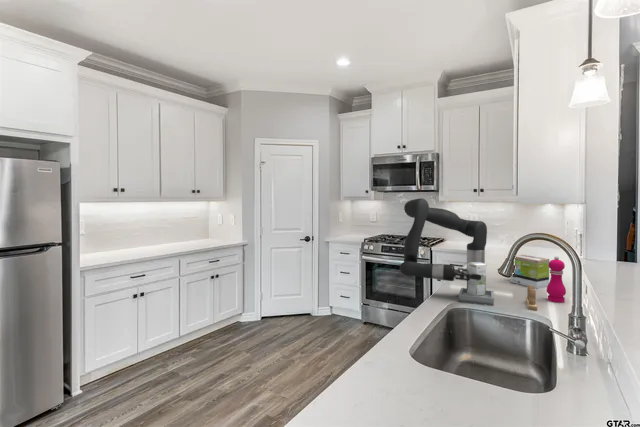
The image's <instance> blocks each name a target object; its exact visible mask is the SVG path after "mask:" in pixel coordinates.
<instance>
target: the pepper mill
mask: <svg viewBox="0 0 640 427" xmlns="http://www.w3.org/2000/svg"><path fill="white" fill-rule="evenodd" d="M553 258H554V259H552V260H549V274H550V278H549V284H548V286H547V287H546V293H547V294H548V295H547V300H548V301H549V302H552V303H565V297H564V296H566V294H567V290H566V287H565V284H564V283H563V282H564V281H563V275H564V271H563V270H564V269H565V267H566V266H565V265H566V264H565V262H564V261H562V260H561V259H560V257H559V256H557V255H555V256H554V257H553Z"/></svg>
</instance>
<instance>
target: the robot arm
mask: <svg viewBox="0 0 640 427" xmlns="http://www.w3.org/2000/svg"><path fill="white" fill-rule="evenodd" d="M403 210H404V212H405V214H406V216H408V217H409V218H414V219H413V222H412V225H411V228H410V230H409V232H408V233H407V235H406V237H405V242H404V247H403V261H402V262H401V264H400V265H399V271H400V273H401V274H402V275H403V276H406V277H408V278H412V277H420V278H424V279H433V280H437V281H447V282H448V281H449V282H450V281H451V282H453V281H454V280H461V281H462V280H463V281H467V280H471V279H476V280H481V275H478V274H470V273H468V272H467V268H462V267H457V269H456V268H455V265H454V264H446V263H426V262H425V263H423V262H422V263H421V262H418V254H419V248H420V241H421V236H422V233H423V230H424V228H425V223H426V222H429V223H431V224H433V225H437V226H439V227H442V228H444V229H448V230H452V231H456V232H459V233H461V234H463V235H465V236H467V237H469V238H470V237H471V238H473V239H472V242H469V243H467V244H466V267H467V266H468V263H472V262H481V263H484V264H486V263H485V262H486V258H485V257H486V256H485V254H486V250H485V248H486V245H487V239H488V238H487V237H488V236H487V235H488V226H487V223H485V222H484V221H481V220H468V219H464V218H461V217H459V215H458V214H456V212H453V211H450V210H448V209H444V208H437V207H430V206H429V202H428V201H427V200H426V199H425V198H421V197H420V198H415V199H411V200H408V201H407V202H406V203H405V204H404V206H403Z"/></svg>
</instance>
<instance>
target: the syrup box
mask: <svg viewBox="0 0 640 427" xmlns="http://www.w3.org/2000/svg"><path fill="white" fill-rule="evenodd" d="M466 269H467V272H468V273H470V274H478V275H481V280H476V279H471V280H466V288H467V294H470V295H473V296H484V295H485V294H486V290H487V264H486V263H485V264H484V263H481V262H472V263H468V266H467V265H466Z"/></svg>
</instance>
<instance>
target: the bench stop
mask: <svg viewBox="0 0 640 427" xmlns="http://www.w3.org/2000/svg"><path fill="white" fill-rule="evenodd" d="M526 287H527V288H526V289H527V290H526V292H527V295H526V297H525V302H526V305H527V309H528V310H529V309H530V310H529V311H538V306H537V302H536V293H537V290H536V289H535V288H534V286H531V285H528V286H526Z"/></svg>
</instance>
